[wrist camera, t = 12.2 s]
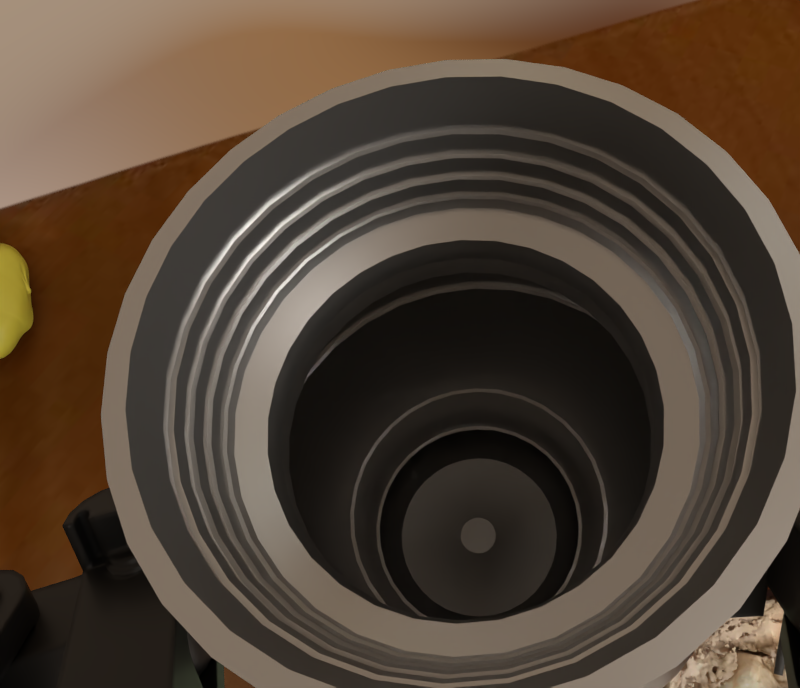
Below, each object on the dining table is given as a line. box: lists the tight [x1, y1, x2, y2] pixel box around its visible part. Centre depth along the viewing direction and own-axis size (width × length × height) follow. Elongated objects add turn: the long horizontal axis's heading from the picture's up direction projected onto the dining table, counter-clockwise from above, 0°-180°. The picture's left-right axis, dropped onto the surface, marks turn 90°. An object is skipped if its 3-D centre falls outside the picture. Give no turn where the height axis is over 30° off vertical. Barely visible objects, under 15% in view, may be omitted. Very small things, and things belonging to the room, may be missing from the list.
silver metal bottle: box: [101, 59, 800, 688], centre depth 13 cm, size 6×7×20 cm
